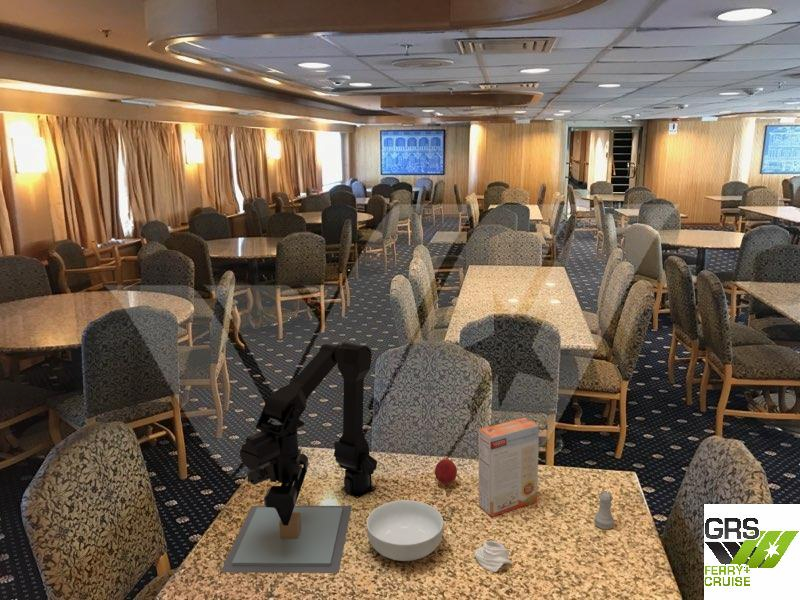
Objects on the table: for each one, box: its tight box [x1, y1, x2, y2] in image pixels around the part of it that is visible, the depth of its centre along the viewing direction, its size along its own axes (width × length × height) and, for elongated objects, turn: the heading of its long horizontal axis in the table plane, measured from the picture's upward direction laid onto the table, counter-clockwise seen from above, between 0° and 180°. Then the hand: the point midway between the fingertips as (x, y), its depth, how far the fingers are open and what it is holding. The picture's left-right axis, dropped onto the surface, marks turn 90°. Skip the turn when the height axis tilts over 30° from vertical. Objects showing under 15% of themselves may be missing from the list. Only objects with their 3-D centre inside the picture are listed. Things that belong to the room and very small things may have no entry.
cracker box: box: [477, 417, 540, 517], centre depth 153 cm, size 14×6×21 cm, turn 115°
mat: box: [220, 505, 353, 574], centre depth 143 cm, size 25×25×1 cm
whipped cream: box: [474, 540, 513, 573], centre depth 134 cm, size 8×7×5 cm
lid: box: [232, 507, 343, 567], centre depth 143 cm, size 21×21×5 cm
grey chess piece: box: [593, 490, 615, 530], centre depth 145 cm, size 4×4×8 cm
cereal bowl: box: [365, 499, 445, 562], centre depth 138 cm, size 17×17×7 cm
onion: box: [434, 455, 458, 486], centre depth 164 cm, size 6×6×8 cm
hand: (290, 513), depth 142 cm, fingers open, 9 cm apart
